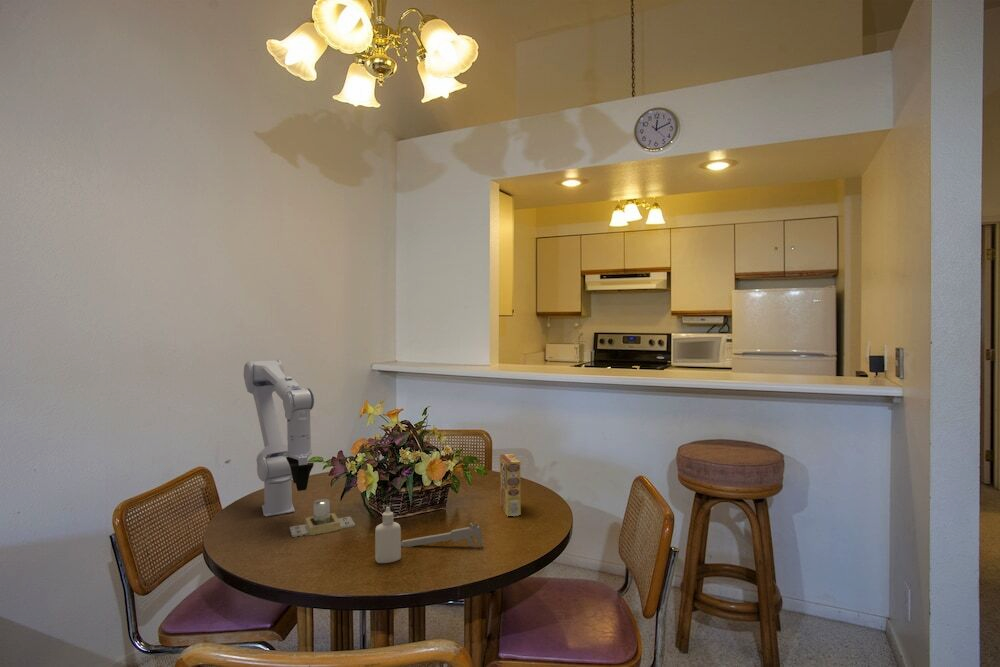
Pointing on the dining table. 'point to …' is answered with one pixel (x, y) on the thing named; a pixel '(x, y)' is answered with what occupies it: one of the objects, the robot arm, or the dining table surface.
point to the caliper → (448, 537)
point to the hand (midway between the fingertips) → (299, 486)
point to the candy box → (510, 485)
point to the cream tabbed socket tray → (321, 526)
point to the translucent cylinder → (321, 511)
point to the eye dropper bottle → (387, 539)
